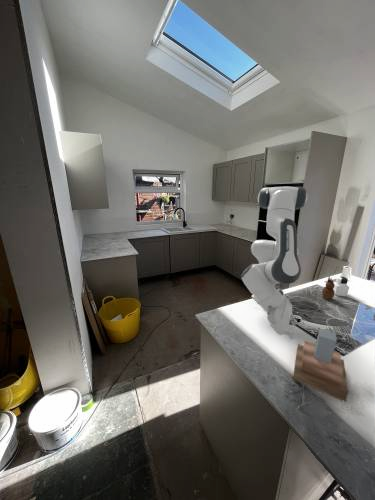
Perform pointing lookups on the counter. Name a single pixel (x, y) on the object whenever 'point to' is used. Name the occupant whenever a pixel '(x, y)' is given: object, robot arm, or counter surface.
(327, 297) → the wooden figurine
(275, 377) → the counter surface
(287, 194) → the robot arm
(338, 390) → the plinth
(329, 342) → the slate brick
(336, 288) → the medicine bottle
